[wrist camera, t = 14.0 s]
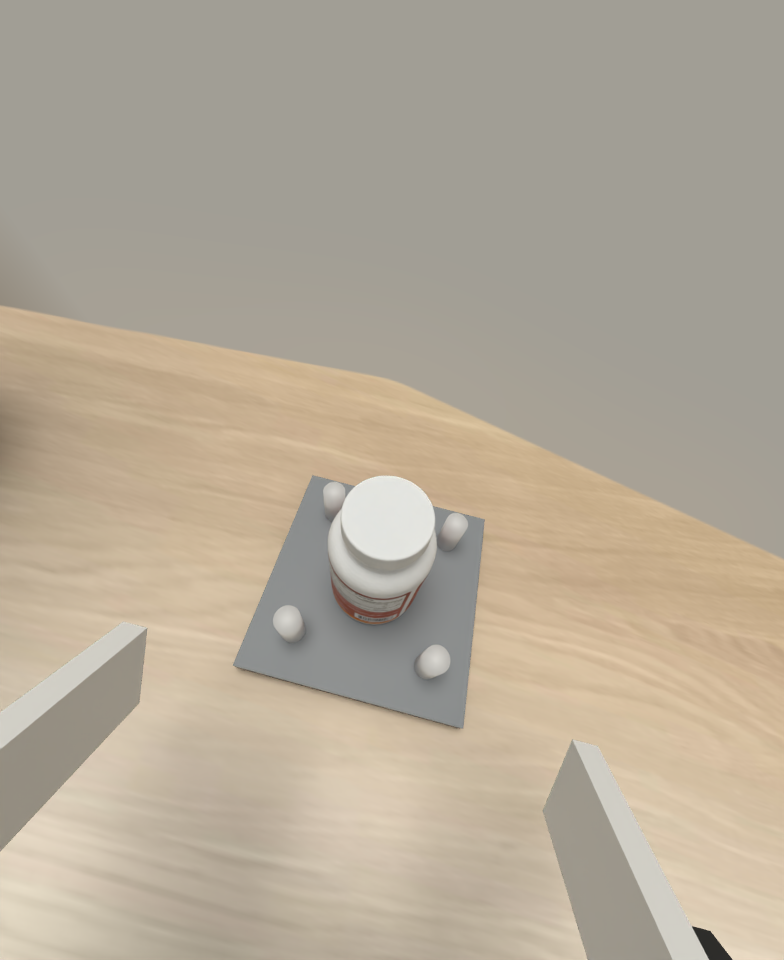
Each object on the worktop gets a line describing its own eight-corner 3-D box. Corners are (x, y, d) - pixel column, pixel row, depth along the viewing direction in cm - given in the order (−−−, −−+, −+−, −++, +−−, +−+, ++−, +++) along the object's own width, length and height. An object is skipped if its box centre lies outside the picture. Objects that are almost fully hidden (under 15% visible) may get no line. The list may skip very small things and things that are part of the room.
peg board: (237, 667, 25) (217, 658, 21) (313, 482, 33) (309, 450, 29) (458, 728, 24) (480, 730, 20) (480, 525, 32) (499, 499, 28)
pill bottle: (381, 528, 30) (398, 443, 21) (432, 590, 28) (477, 526, 18) (314, 574, 27) (299, 500, 18) (364, 646, 25) (377, 604, 16)
